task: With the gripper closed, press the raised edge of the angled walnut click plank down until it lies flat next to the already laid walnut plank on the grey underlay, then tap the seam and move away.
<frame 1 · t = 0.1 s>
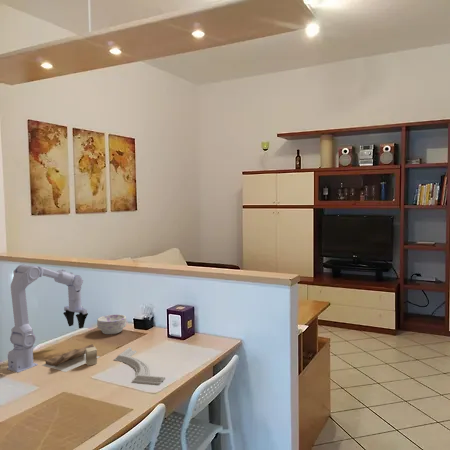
hand: (76, 326, 208), 10 cm above the table, tool pointing down, fingers open, 7 cm apart
laid plank: (64, 358, 192), resting on underlay
paper bowls: (112, 332, 231), on the table
click plank: (74, 354, 189), point 3 cm above the table, hinge at 35.4°
molding: (141, 368, 182), on the table
underlay: (71, 361, 190), on the table
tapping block: (90, 354, 187), point 4 cm above the table, tilted 101°
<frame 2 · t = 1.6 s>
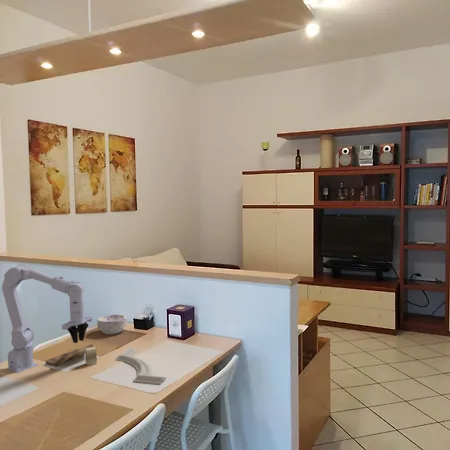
hand: (78, 341, 187), 10 cm above the table, tool pointing down, fingers open, 3 cm apart
click plank: (74, 354, 189), point 3 cm above the table, hinge at 35.9°
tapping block: (90, 355, 187), point 3 cm above the table, tilted 90°
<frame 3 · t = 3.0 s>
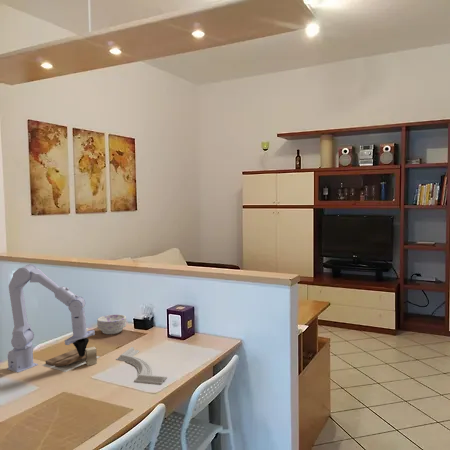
hand: (82, 355, 187), 4 cm above the table, tool pointing down, fingers closed, pressing on click plank
click plank: (75, 357, 188), point 2 cm above the table, hinge at 14.9°, touching gripper
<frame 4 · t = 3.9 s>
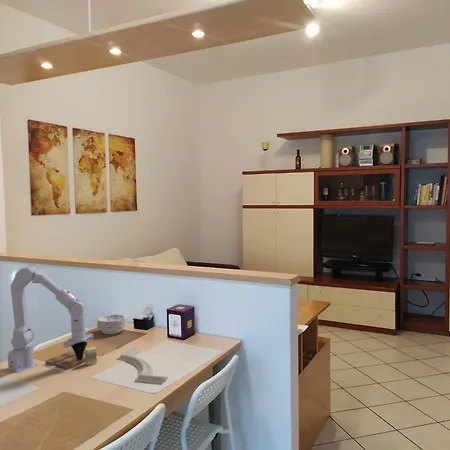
hand: (79, 358, 187), 2 cm above the table, tool pointing down, fingers closed
click plank: (76, 360, 188), point 1 cm above the table, hinge at 1.5°
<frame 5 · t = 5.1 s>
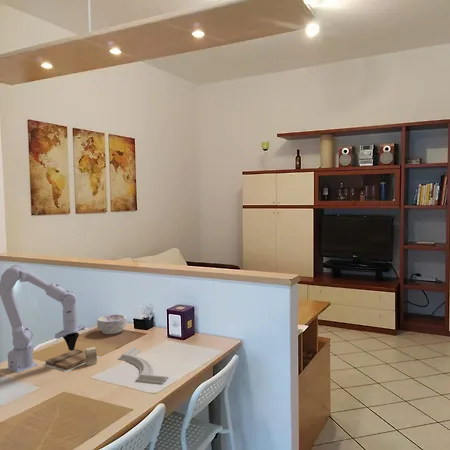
hand: (71, 349, 189), 5 cm above the table, tool pointing down, fingers closed
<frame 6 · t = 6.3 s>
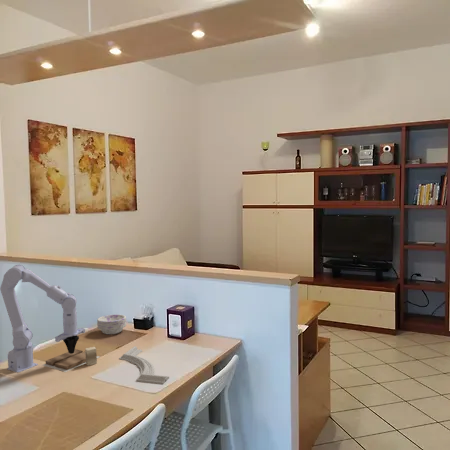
hand: (71, 352, 189), 4 cm above the table, tool pointing down, fingers closed
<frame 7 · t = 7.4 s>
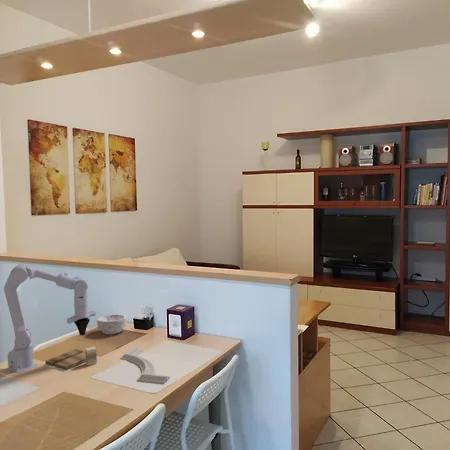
hand: (82, 334, 194), 10 cm above the table, tool pointing down, fingers closed
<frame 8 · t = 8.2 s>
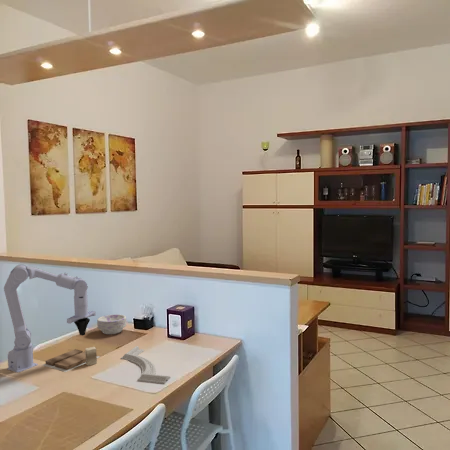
hand: (82, 334, 194), 10 cm above the table, tool pointing down, fingers closed
at the end: click plank at +1° (first picture: +35°) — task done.
